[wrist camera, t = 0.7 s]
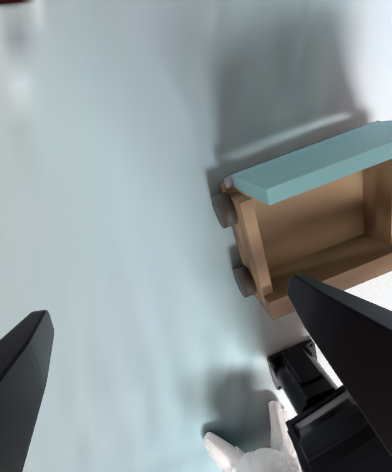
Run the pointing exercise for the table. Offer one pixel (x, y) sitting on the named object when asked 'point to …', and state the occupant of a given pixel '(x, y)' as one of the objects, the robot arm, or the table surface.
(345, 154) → the panel
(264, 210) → the truck bed
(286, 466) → the cherub figurine
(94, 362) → the table surface
